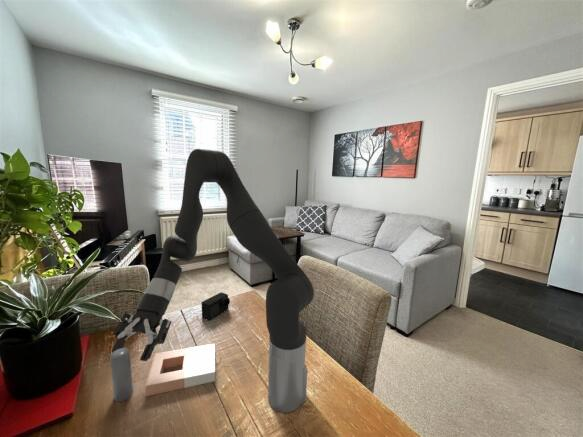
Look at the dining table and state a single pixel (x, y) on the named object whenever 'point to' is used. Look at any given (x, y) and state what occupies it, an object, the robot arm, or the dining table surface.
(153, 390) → the block
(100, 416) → the dining table surface
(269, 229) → the robot arm
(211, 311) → the digital camera
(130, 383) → the pin
